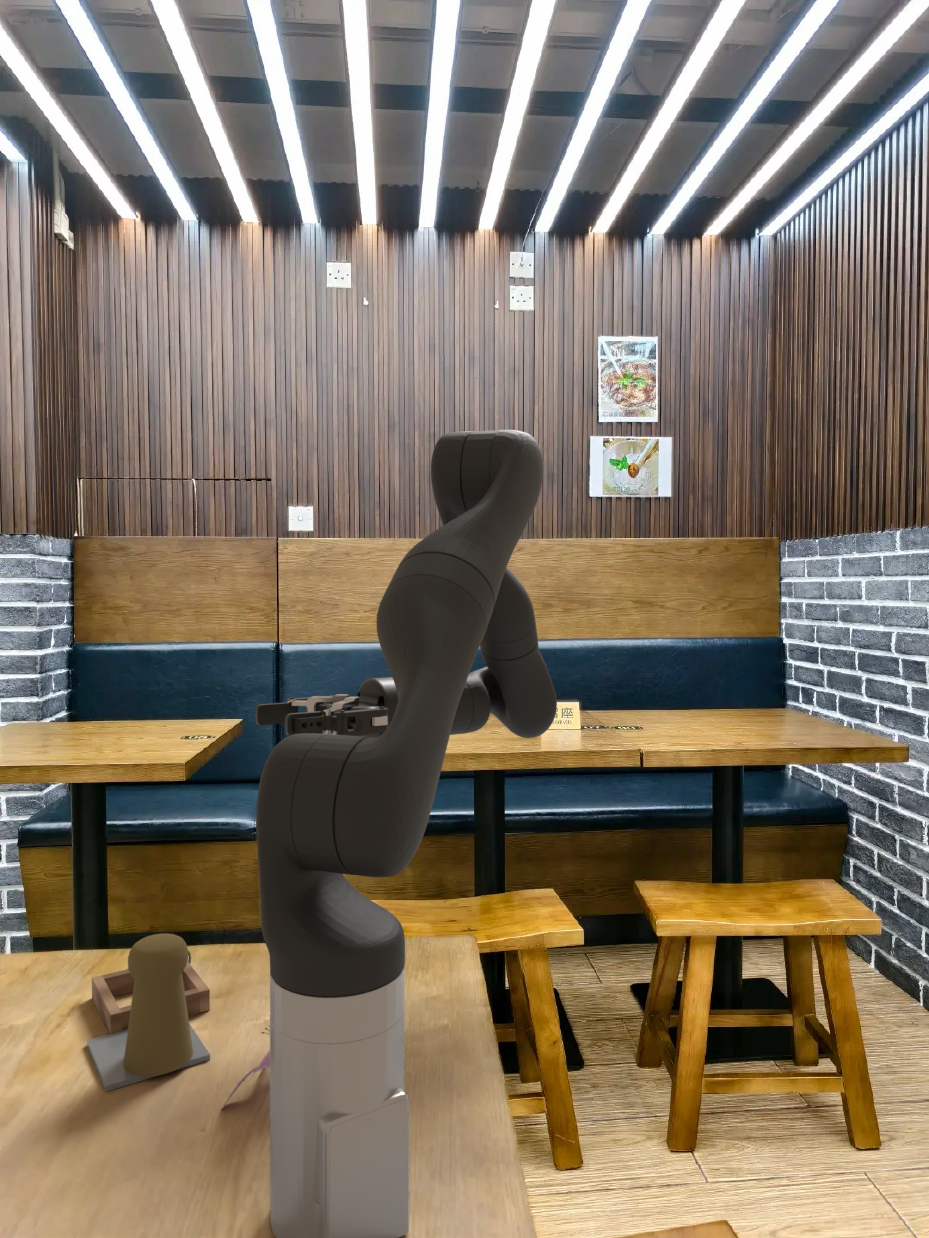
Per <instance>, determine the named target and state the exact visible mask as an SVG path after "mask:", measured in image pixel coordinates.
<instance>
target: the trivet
mask: <svg viewBox="0 0 929 1238" xmlns="http://www.w3.org/2000/svg"><path fill="white" fill-rule="evenodd" d="M189 1026H190V1033H191V1040H192V1047H193V1056H192V1058H191V1060H190V1061H188V1062H187V1063H186V1064H185V1065H184V1066H182V1067H180V1068H179V1069H177V1070H182V1069H184V1068H187V1067H190V1066H194V1065H197V1064H201V1063H203V1062H206V1061H210V1060H211V1053H210V1051H209V1050H208V1049H207V1047H206V1046H205V1045H204V1043H203V1042H202V1040H201V1039H200V1037H199V1036H198V1034H197V1032H195V1029H194V1028H193V1027H192V1025H191V1024H190V1023H189ZM127 1033H128V1029H125V1030H122V1031H118V1032H114V1033H111V1034H109V1033H108V1034H104V1035H100V1036H97V1037H96V1036H95V1037H94V1038H90V1039H86V1047H87V1049H88V1051H89V1054H90V1056H91V1059H92V1061H93V1065H94V1066H95V1069H96V1071H97V1072H98V1075H99V1078H100V1081H101V1082H102V1086H103V1087H104V1090H105V1092H110V1091H113V1090H116V1089H120V1088H123V1087H125V1086H130V1085H132V1084H137V1083H140V1082H142V1081H146V1080H149V1079H152V1078H155V1077H158V1076H160V1075H157V1076H137V1075H133V1074H131V1073H129V1072H127V1071H126V1069H125V1068H124V1056H125V1049H126V1041H127ZM177 1070H176V1071H177Z"/></svg>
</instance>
